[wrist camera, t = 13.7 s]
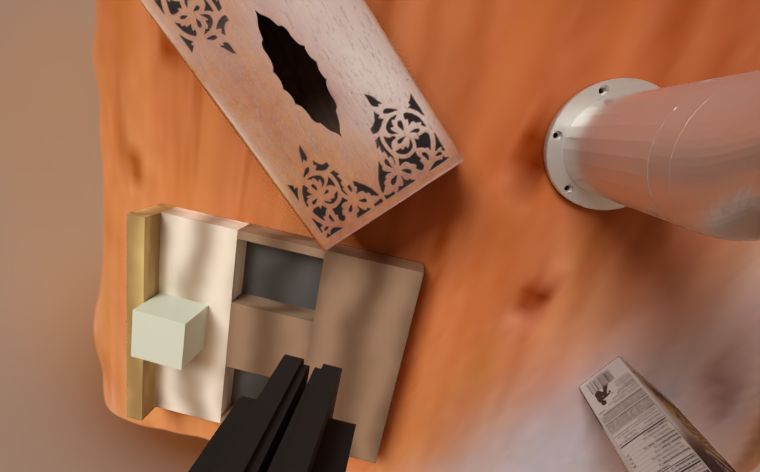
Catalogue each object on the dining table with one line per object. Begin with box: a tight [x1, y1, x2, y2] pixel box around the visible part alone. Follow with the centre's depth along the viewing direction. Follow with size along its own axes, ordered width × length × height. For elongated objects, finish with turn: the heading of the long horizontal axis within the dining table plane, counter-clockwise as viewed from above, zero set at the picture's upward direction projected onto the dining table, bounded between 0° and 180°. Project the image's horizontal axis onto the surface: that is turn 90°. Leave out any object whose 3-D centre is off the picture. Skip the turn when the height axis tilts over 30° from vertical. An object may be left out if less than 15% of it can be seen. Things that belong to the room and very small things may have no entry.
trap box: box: [127, 204, 424, 463], centre depth 45 cm, size 32×27×6 cm
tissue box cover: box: [139, 0, 464, 252], centre depth 34 cm, size 26×14×10 cm, turn 34°
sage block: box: [131, 292, 208, 370], centre depth 43 cm, size 6×6×4 cm
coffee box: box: [579, 357, 736, 472], centre depth 37 cm, size 9×6×16 cm
